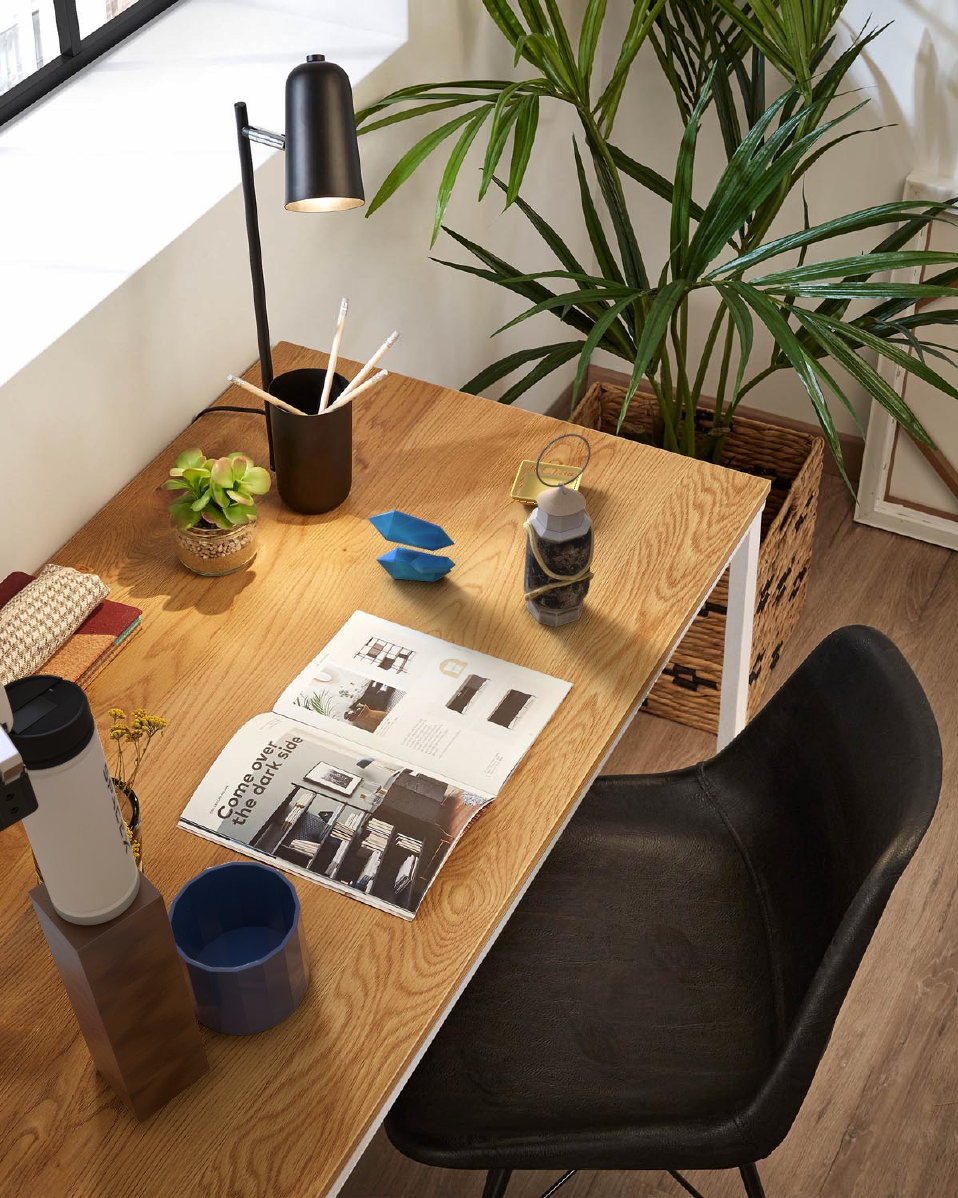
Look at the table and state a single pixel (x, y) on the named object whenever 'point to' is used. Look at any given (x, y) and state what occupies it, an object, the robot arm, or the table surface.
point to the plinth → (129, 998)
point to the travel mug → (72, 802)
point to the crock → (241, 946)
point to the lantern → (558, 552)
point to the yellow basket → (535, 487)
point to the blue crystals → (417, 535)
